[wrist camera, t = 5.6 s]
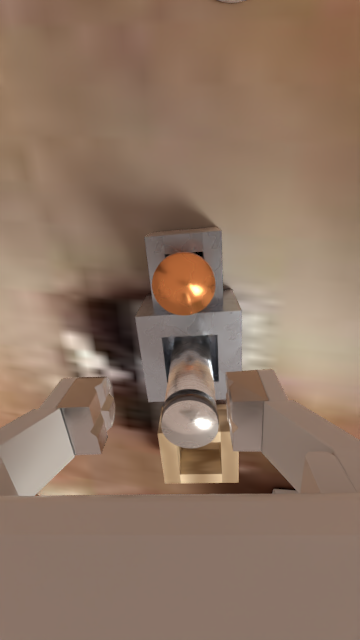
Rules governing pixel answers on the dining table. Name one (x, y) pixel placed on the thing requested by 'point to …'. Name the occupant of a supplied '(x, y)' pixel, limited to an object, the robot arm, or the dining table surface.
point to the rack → (201, 457)
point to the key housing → (187, 241)
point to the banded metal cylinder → (190, 394)
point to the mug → (231, 1)
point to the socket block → (165, 326)
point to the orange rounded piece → (183, 283)
